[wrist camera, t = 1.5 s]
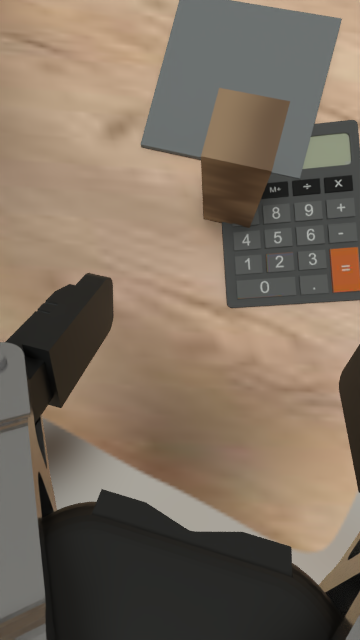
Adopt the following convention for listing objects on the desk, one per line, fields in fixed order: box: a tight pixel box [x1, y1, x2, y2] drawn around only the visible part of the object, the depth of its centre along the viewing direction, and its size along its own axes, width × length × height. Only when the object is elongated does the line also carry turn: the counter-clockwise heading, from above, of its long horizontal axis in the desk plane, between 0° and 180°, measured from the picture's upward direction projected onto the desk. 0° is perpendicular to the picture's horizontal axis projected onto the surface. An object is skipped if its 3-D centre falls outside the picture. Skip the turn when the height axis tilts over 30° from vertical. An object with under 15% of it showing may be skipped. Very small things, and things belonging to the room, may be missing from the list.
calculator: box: [222, 120, 360, 308], centre depth 27 cm, size 12×1×15 cm
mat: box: [141, 0, 342, 179], centre depth 28 cm, size 14×14×1 cm
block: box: [201, 88, 290, 228], centre depth 23 cm, size 4×4×10 cm
